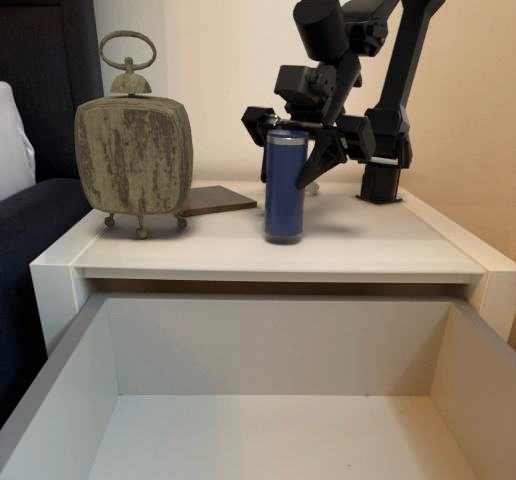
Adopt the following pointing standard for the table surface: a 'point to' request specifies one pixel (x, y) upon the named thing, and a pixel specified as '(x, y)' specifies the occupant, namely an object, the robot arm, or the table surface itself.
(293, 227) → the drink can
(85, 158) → the tabletop clock
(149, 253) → the table surface
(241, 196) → the desk pad
